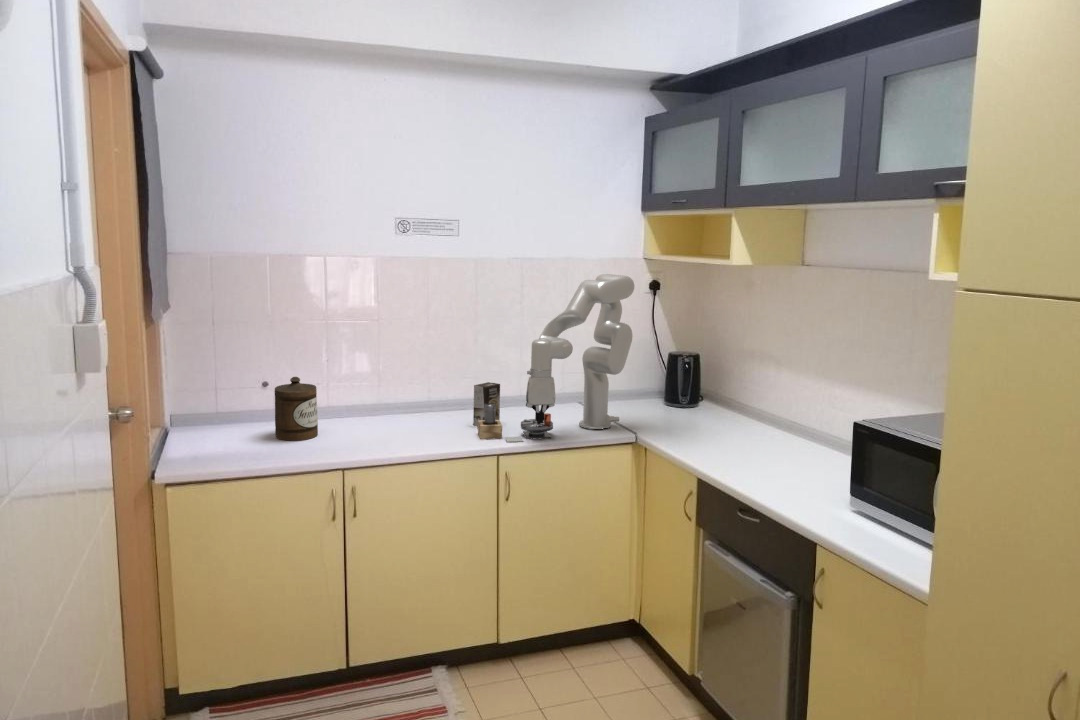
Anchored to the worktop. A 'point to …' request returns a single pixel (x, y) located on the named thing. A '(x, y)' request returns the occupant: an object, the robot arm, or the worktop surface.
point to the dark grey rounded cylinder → (490, 414)
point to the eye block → (489, 430)
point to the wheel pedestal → (536, 434)
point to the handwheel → (538, 424)
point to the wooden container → (296, 411)
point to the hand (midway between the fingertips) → (539, 422)
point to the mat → (514, 439)
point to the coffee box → (485, 400)
